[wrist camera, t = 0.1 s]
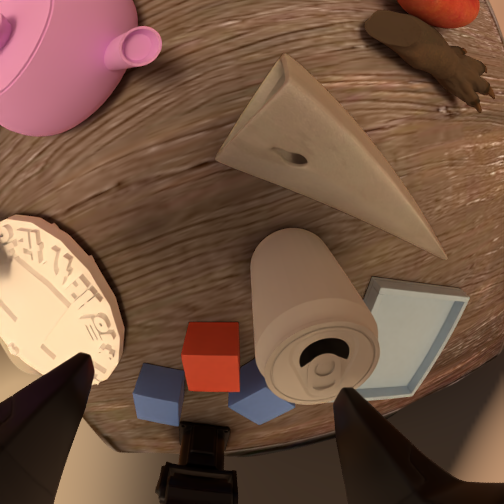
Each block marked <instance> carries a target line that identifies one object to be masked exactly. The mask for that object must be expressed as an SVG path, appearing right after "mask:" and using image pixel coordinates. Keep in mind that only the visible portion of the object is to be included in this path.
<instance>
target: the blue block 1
mask: <svg viewBox="0 0 504 504" xmlns="http://www.w3.org/2000/svg"><path fill="white" fill-rule="evenodd" d="M184 380H185V372H184V371H183V370H178V369H172V368H166V367H161V366H156V365H151V364H146V363H143V366H142V369H141V372H140V374H139V377H138V380H137V383H136V386H135V389H134V392H133V397H134V403H135V408H136V413H137V418H139V419H143V420H148V421H152V422H157V423H162V424H167V425H173V426H179V422H180V416H181V410H182V405H183V399H184Z"/></svg>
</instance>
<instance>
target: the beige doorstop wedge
mask: <svg viewBox="0 0 504 504" xmlns="http://www.w3.org/2000/svg"><path fill="white" fill-rule="evenodd" d="M215 160H216V161H218V162H220V163H222V164H224V165H226V166H229V167H231V168H234V169H237V170H239V171H242V172H245V173H247V174H250V175H253V176H255V177H258V178H261V179H263V180H266V181H268V182H271V183H274V184H276V185H279V186H281V187H284V188H286V189H289V190H291V191H294V192H296V193H299V194H301V195H304V196H306V197H309V198H311V199H314V200H316V201H318V202H321V203H323V204H325V205H328V206H330V207H333V208H335V209H337V210H339V211H342V212H344V213H346V214H349V215H351V216H353V217H355V218H358V219H360V220H362V221H364V222H366V223H369V224H371V225H373V226H375V227H377V228H379V229H382V230H384V231H386V232H388V233H390V234H392V235H394V236H396V237H398V238H401V239H403V240H405V241H407V242H409V243H411V244H413V245H415V246H417V247H419V248H421V249H423V250H425V251H427V252H429V253H431V254H433V255H435V256H437V257H439V258H441V259H444V260H448V258H447V255H446V253H445V251H444V250H443V248H442V246H441V244H440V242H439V240H438V238H437V237H436V235H435V233H434V231H433V230H432V228H431V226H430V225H429V223H428V221H427V219H426V218H425V216H424V215H423V213H422V211H421V210H420V208H419V207H418V205H417V203H416V202H415V200H414V199H413V197H412V196H411V194H410V193H409V191H408V190H407V188H406V187H405V185H404V184H403V182H402V181H401V179H400V178H399V177H398V175H397V174H396V172H395V171H394V170H393V168H392V167H391V165H390V164H389V163H388V161H387V160H386V159H385V157H384V156H383V155H382V153H381V152H380V151H379V150H378V148H377V147H376V146H375V144H374V143H373V142H372V141H371V139H370V138H369V137H368V136H367V135H366V133H365V132H364V131H363V130H362V128H361V127H360V126H359V125H358V124H357V123H356V121H355V120H354V119H353V118H352V117H351V116H350V115H349V113H348V112H347V111H346V110H345V109H344V108H343V107H342V106H341V105H340V103H339V102H338V101H337V100H336V99H335V98H334V97H333V96H332V95H331V94H330V93H329V92H328V91H327V90H326V89H325V88H324V87H323V86H322V85H321V84H320V83H319V82H318V81H317V80H316V79H315V78H314V77H313V76H312V75H311V74H310V73H309V72H308V71H307V70H306V69H305V68H304V67H302V66H301V65H300V64H299V63H298V62H297V61H295V60H294V59H293V58H292V57H291V56H289V55H288V54H286V53H284V54H282V56H281V57H280V58H279V60H278V61H277V62H276V64H275V65H274V67H273V68H272V69H271V71H270V72H269V74H268V75H267V77H266V78H265V79H264V81H263V82H262V84H261V85H260V87H259V88H258V90H257V91H256V93H255V94H254V96H253V97H252V99H251V100H250V102H249V103H248V105H247V106H246V108H245V110H244V111H243V113H242V114H241V116H240V117H239V119H238V121H237V122H236V124H235V125H234V127H233V129H232V130H231V132H230V133H229V135H228V137H227V138H226V140H225V142H224V143H223V145H222V147H221V148H220V150H219V152H218V153H217V155H216V157H215Z"/></svg>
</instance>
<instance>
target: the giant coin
mask: <svg viewBox="0 0 504 504" xmlns="http://www.w3.org/2000/svg"><path fill="white" fill-rule="evenodd" d="M124 331H125V328H124V325H123V321H122V318H121V315H120V311H119V307H118V304H117V300H116V297H115V295H114V293H113V292H112V290H111V288H110V287H109V285H108V283H107V282H106V280H105V278H104V277H103V275H102V273H101V271H100V270H99V268H98V266H97V264H96V263H95V260H94V258H93V257H92V255H90V256H88V255H87V253H86V252H85V251H84V250H83V249H82V248H81V247H80V246H79V245H78V244H77V243H76V242H75V241H74V240H73V239H72V237H71V236H70V235H69V234H67V233H65V232H64V231H62V230H60V229H59V227H58V226H57V225H56V224H55V223H53V224H50V223H49V222H47V221H45V220H44V219H42V218H40V217H33V216H25V215H16V214H15V215H13V216H11V217H9V218H7V219H5V220H3V221H1V222H0V336H1V338H2V339H3V341H4V342H5V343H6V344H7V345H8V349H9V350H10V353H11V354H12V355H13V354H14V355H15V356H16V355H18V356H19V357H20V358H21V359H22V360H23V361H24V362H25V363H26V364H28V365H29V366H31V367H32V368H34V369H35V370H37V371H38V372H40V373H41V374H43V375H45V374H46V373H48V372H49V371H51V370H52V369H54V368H56V367H57V366H59V365H60V364H62V363H63V362H65V361H66V360H68V359H70V358H71V357H73V356H74V355H76V354H77V353H79V352H83V353H87V354H89V355H90V356H91V358H92V362H93V366H94V370H95V375H94V379H93V382H92V385H93V384H97V385H98V384H99V383H100V382H101V381H104V380H106V379H108V377H109V376H110V374H111V373H112V371H113V370H114V369H115V367H116V366H117V364H118V363H119V361H120V358H121V356H122V354H123V342H124Z"/></svg>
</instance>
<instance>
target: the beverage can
mask: <svg viewBox="0 0 504 504" xmlns="http://www.w3.org/2000/svg"><path fill="white" fill-rule="evenodd" d="M250 272H251V290H252V308H253V325H254V343H255V360H256V364H257V367H258V369H259V371H260V373H261V374H262V375H263V376H264V378H265V381H266V383H267V386H268V387H269V389H270V390H271V391H272V392H273V393H274V394H275V395H276V396H278V397H279V398H281V399H283V400H285V401H288V402H291V403H296V404H304V405H311V404H321V403H326V402H330V401H333V400H335V399H336V397H337V395H338V393H339V392H340V390H341V389H342V388H343V387H352V388H354V389H357V388H358V387H360V386H361V385H362V384H363V383H364V382H365V381H366V380H367V379H368V378H369V377H370V376H371V374H372V373H373V371H374V370H375V368H376V366H377V364H378V361H379V357H380V345H379V342H378V327H377V323H376V321H375V319H374V317H373V315H372V314H371V312H370V310H369V309H368V307H367V306H366V304H365V303H364V301H363V300H362V298H361V296H360V295H359V293H358V292H357V290H356V289H355V287H354V286H353V284H352V283H351V281H350V280H349V278H348V277H347V275H346V274H345V272H344V271H343V269H342V268H341V266H340V265H339V263H338V262H337V260H336V259H335V258H334V256H333V255H332V253H331V252H330V250H329V249H328V247H327V246H326V245H325V243H324V242H323V241H322V240H321V239H320V238H319V237H318V236H317V235H315V234H314V233H312V232H309V231H307V230H304V229H300V228H287V229H282V230H279V231H276V232H274V233H272V234H270V235H269V236H267V237H266V238H265V239H264V240H262V241H261V242H260V244H259V245H258V246H257V248H256V249H255V251H254V253H253V256H252V259H251V264H250Z"/></svg>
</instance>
